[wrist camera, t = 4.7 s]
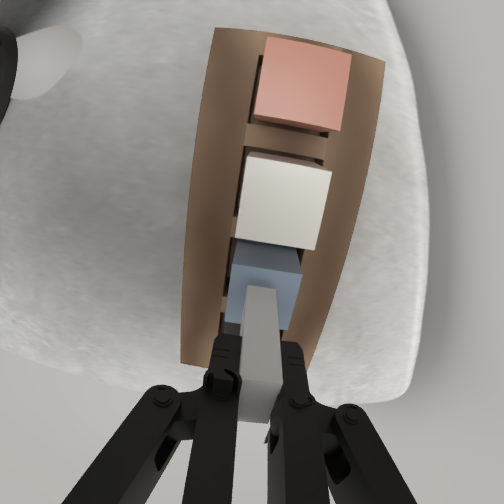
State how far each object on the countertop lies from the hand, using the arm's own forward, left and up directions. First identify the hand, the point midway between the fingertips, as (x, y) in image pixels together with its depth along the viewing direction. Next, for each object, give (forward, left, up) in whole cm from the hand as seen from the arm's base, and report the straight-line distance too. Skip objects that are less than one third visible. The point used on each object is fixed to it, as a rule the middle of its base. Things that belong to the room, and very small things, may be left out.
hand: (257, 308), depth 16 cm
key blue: (0, 0, -6) cm, 6 cm away
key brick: (0, +12, -5) cm, 13 cm away
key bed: (0, +3, -9) cm, 9 cm away
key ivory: (0, +6, -5) cm, 8 cm away
